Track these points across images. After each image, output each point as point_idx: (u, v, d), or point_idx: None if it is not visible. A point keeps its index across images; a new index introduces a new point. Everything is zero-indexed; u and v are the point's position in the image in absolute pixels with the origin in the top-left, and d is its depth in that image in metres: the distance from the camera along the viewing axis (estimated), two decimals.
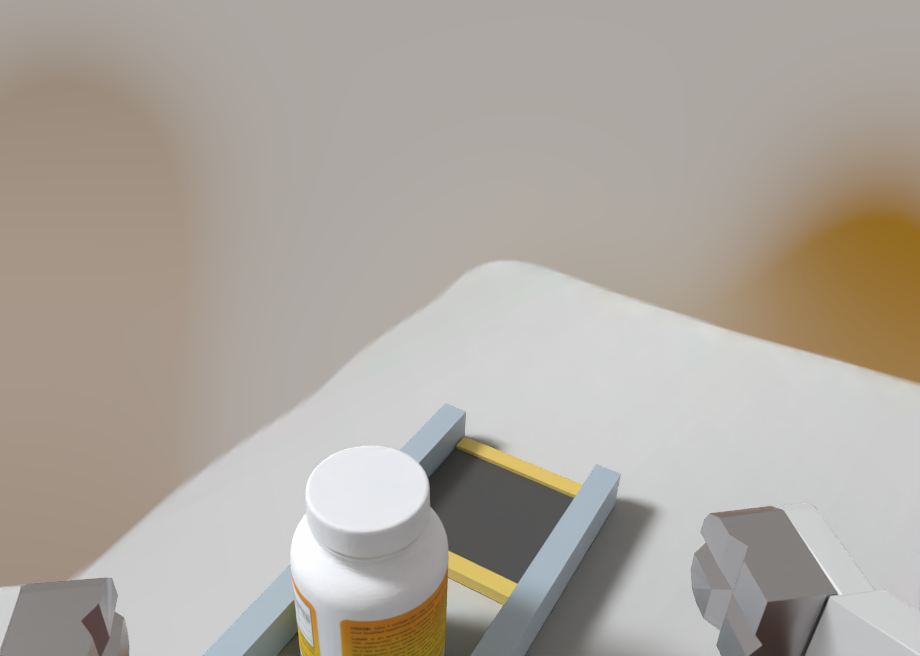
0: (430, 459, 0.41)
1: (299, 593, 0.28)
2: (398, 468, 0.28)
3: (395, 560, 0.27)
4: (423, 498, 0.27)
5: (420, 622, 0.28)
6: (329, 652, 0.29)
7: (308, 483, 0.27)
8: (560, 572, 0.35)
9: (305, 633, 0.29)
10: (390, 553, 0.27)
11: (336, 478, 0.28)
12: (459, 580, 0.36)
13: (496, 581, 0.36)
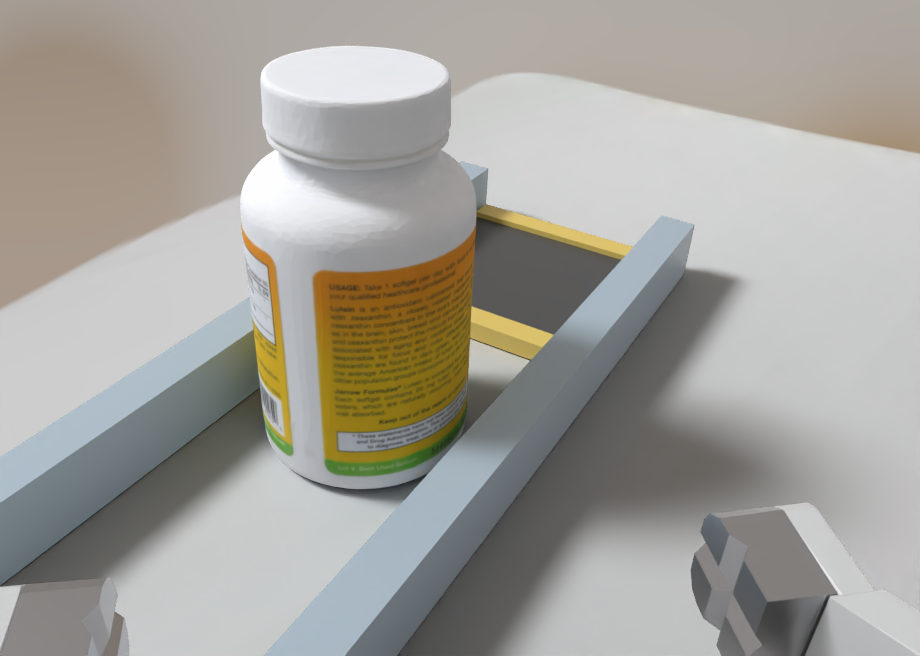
0: None
1: (252, 247, 0.19)
2: (403, 61, 0.19)
3: (399, 183, 0.18)
4: (442, 82, 0.18)
5: (435, 294, 0.19)
6: (298, 343, 0.19)
7: (265, 67, 0.18)
8: (624, 311, 0.25)
9: (262, 326, 0.20)
10: (390, 156, 0.17)
11: (308, 64, 0.18)
12: (483, 338, 0.27)
13: (534, 335, 0.26)
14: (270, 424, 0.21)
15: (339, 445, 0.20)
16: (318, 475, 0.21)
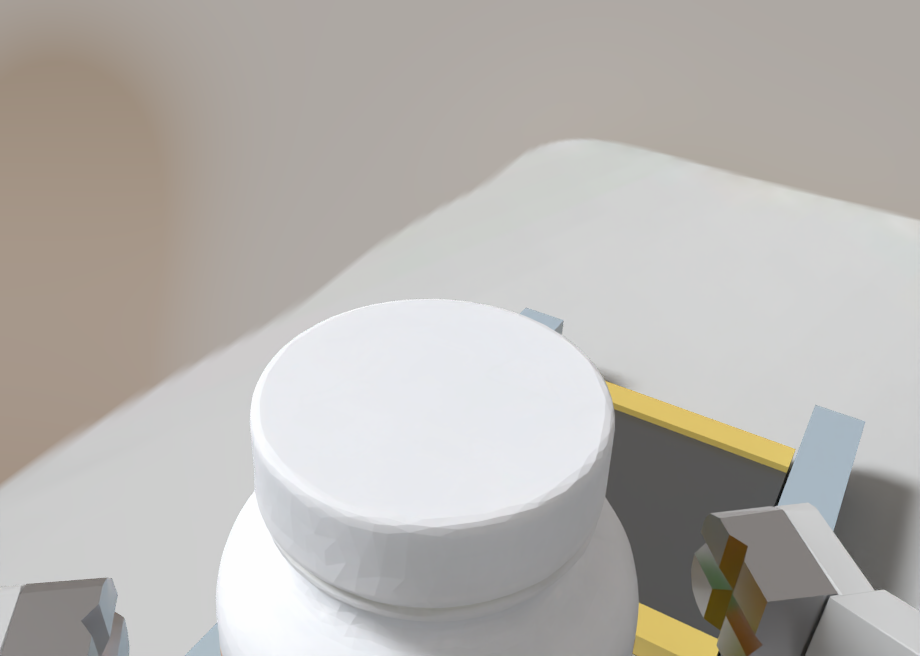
0: None
1: None
2: (515, 350, 0.10)
3: (518, 613, 0.09)
4: (604, 425, 0.09)
5: None
6: None
7: (259, 385, 0.09)
8: None
9: None
10: (511, 594, 0.09)
11: (341, 371, 0.10)
12: None
13: (663, 628, 0.18)
14: None
15: None
16: None
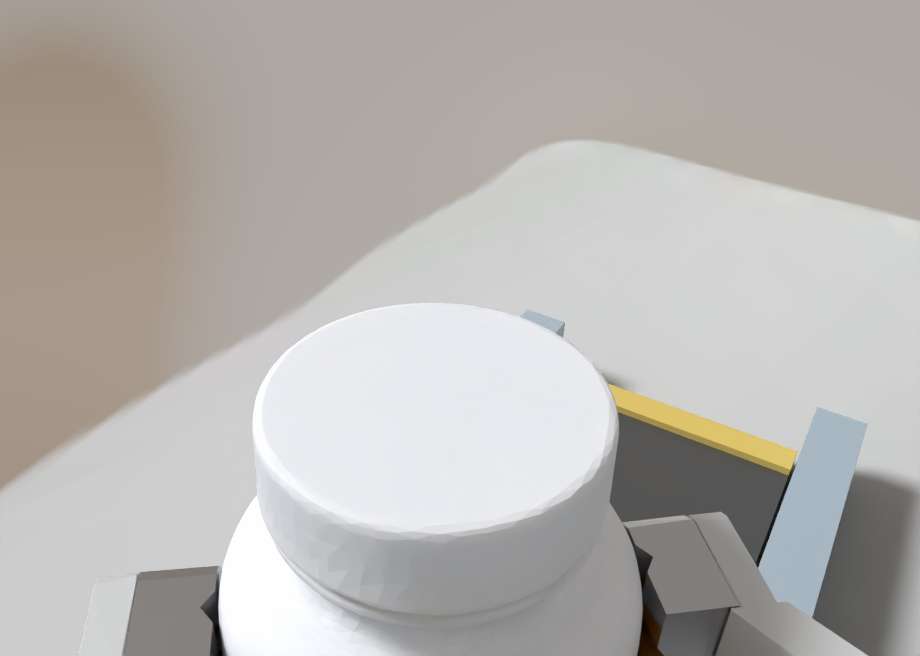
0: None
1: None
2: (518, 354, 0.10)
3: (522, 618, 0.09)
4: (610, 431, 0.09)
5: None
6: None
7: (262, 390, 0.09)
8: (811, 616, 0.17)
9: None
10: (515, 600, 0.09)
11: (344, 377, 0.10)
12: None
13: None
14: None
15: None
16: None
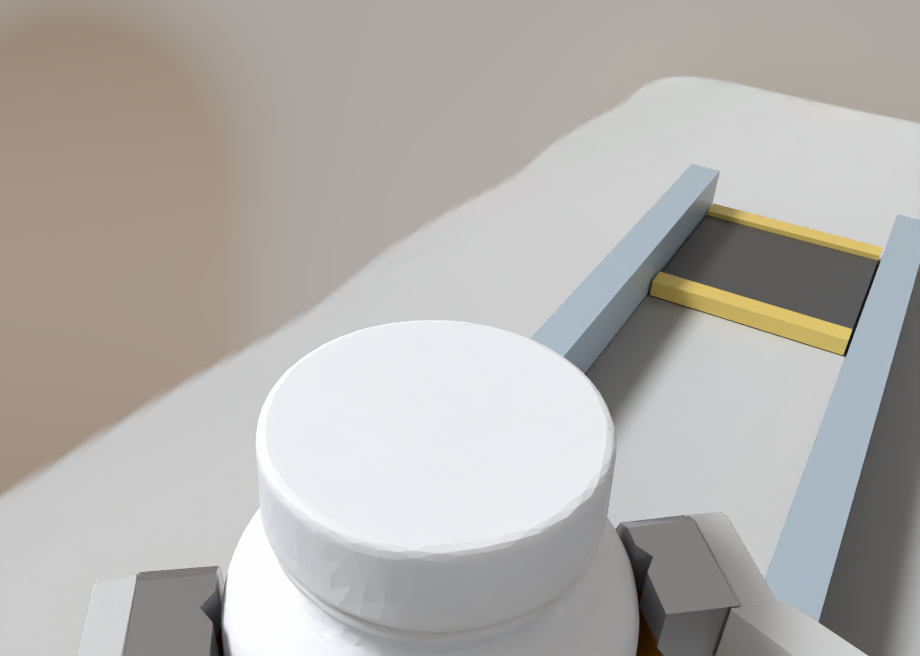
0: (692, 214, 0.34)
1: None
2: (517, 372, 0.10)
3: (521, 635, 0.09)
4: (607, 450, 0.09)
5: None
6: None
7: (265, 408, 0.09)
8: (908, 302, 0.28)
9: None
10: (513, 615, 0.09)
11: (346, 395, 0.10)
12: (764, 327, 0.30)
13: (815, 323, 0.29)
14: None
15: None
16: None
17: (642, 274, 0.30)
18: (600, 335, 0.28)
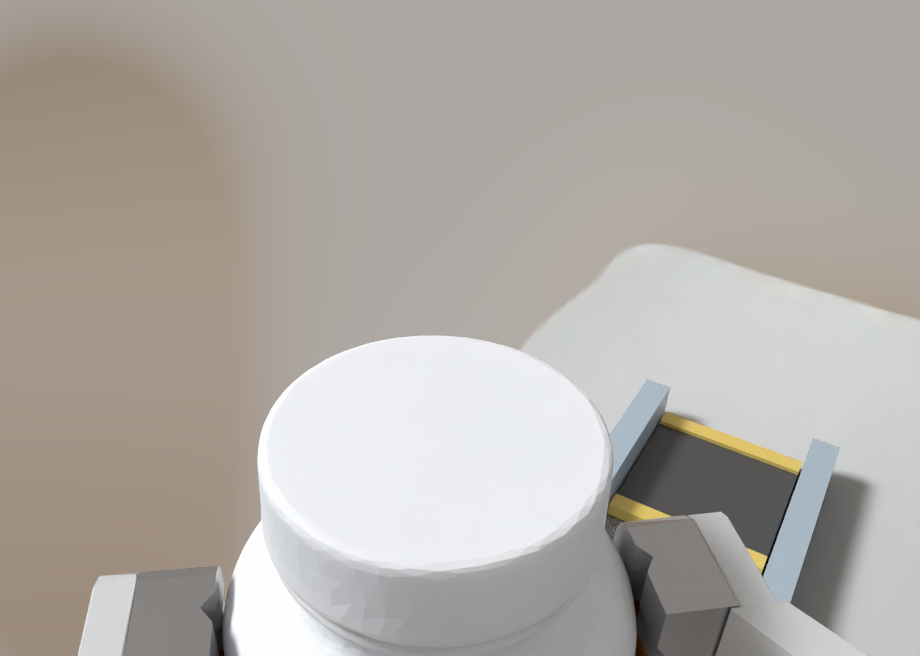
0: (645, 433, 0.41)
1: None
2: (515, 388, 0.10)
3: (519, 649, 0.09)
4: (603, 466, 0.09)
5: None
6: None
7: (267, 425, 0.10)
8: (809, 541, 0.35)
9: None
10: (512, 632, 0.09)
11: (346, 412, 0.10)
12: None
13: None
14: None
15: None
16: None
17: None
18: None
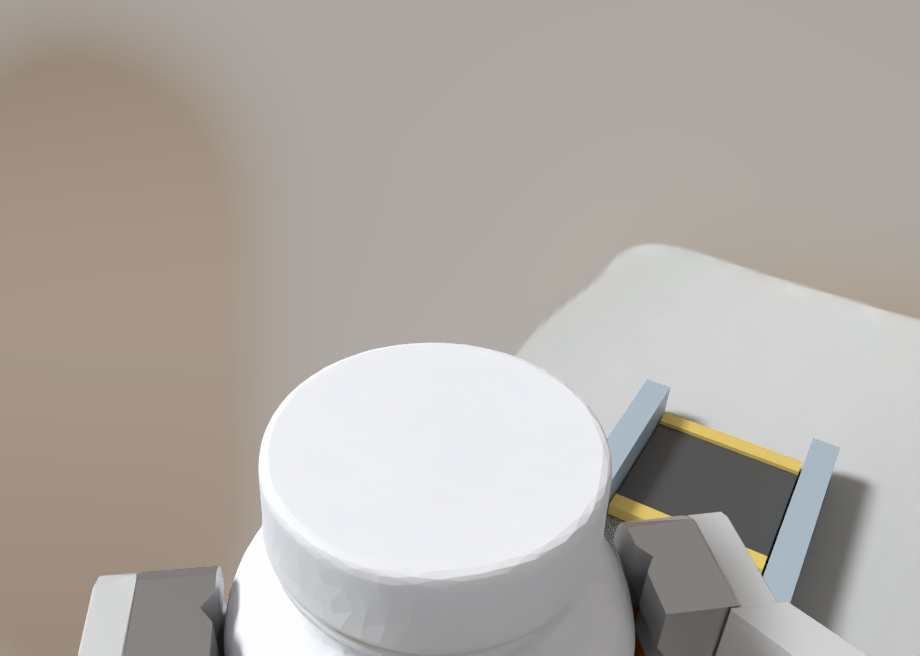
0: (645, 433, 0.41)
1: None
2: (515, 396, 0.10)
3: (518, 655, 0.10)
4: (602, 473, 0.09)
5: None
6: None
7: (268, 433, 0.10)
8: (809, 541, 0.35)
9: None
10: (512, 639, 0.09)
11: (346, 419, 0.10)
12: None
13: None
14: None
15: None
16: None
17: None
18: None
